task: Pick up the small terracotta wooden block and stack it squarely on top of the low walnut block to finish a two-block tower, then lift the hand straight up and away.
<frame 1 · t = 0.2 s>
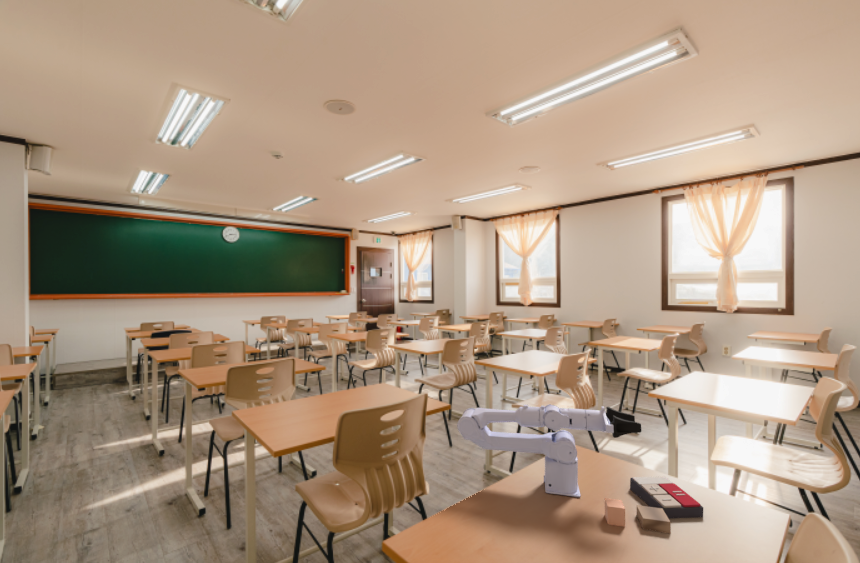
hand: (637, 423, 109), 21 cm above the table, tool horizontal, fingers open, 7 cm apart
calculator: (664, 504, 107), on the table
terracotta block: (614, 521, 98), on the table
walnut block: (653, 525, 97), on the table
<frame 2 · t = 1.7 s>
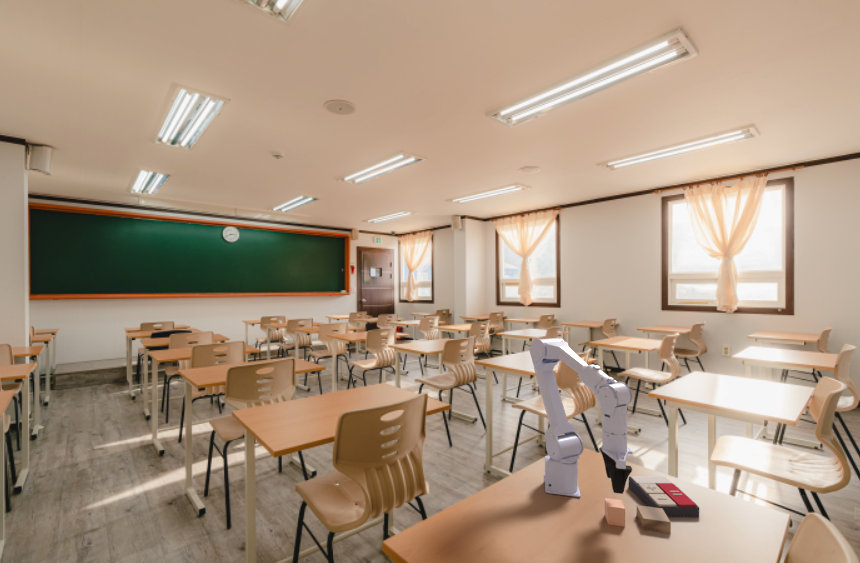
hand: (614, 484, 99), 9 cm above the table, tool pointing down, fingers open, 7 cm apart
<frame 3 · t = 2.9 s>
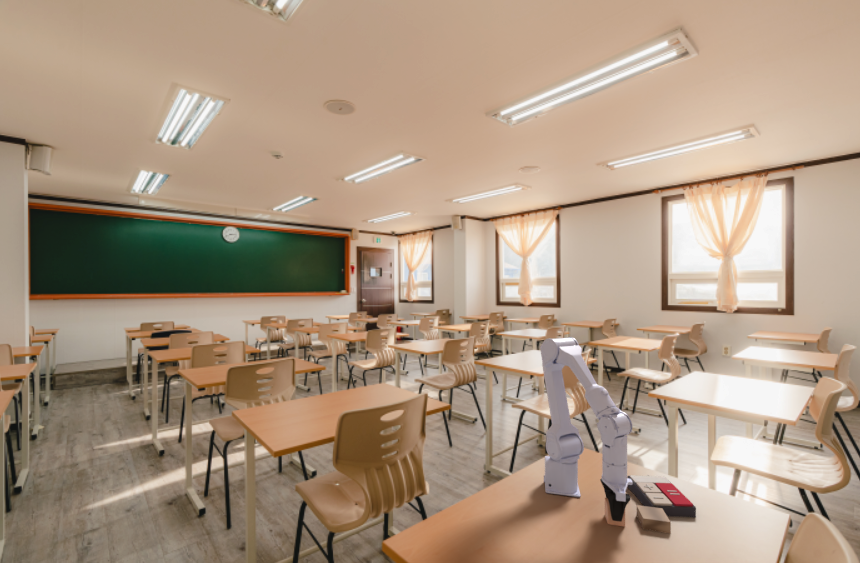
hand: (614, 515, 98), 1 cm above the table, tool pointing down, fingers closed on terracotta block, 4 cm apart
terracotta block: (614, 520, 98), on the table, touching gripper
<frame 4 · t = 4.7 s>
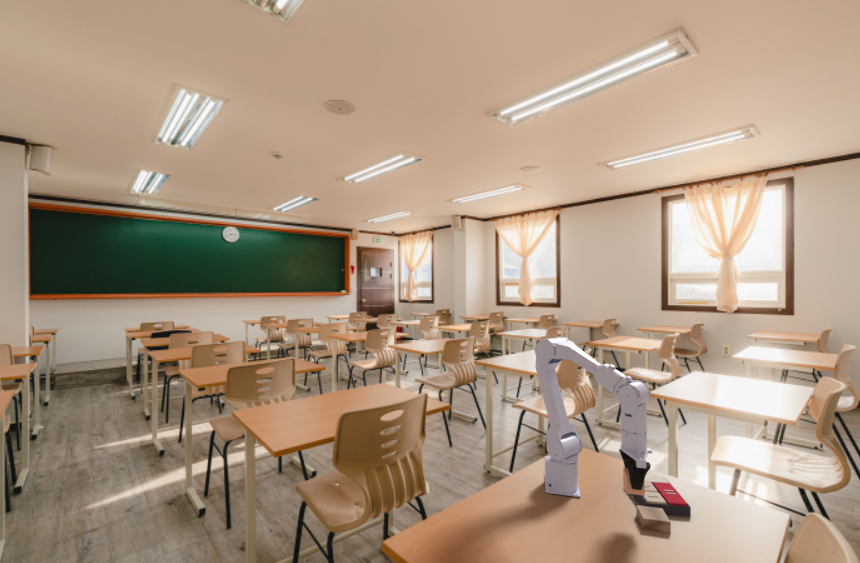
hand: (634, 484, 98), 10 cm above the table, tool pointing down, fingers closed on terracotta block, 4 cm apart
terracotta block: (633, 490, 98), point 8 cm above the table, touching gripper
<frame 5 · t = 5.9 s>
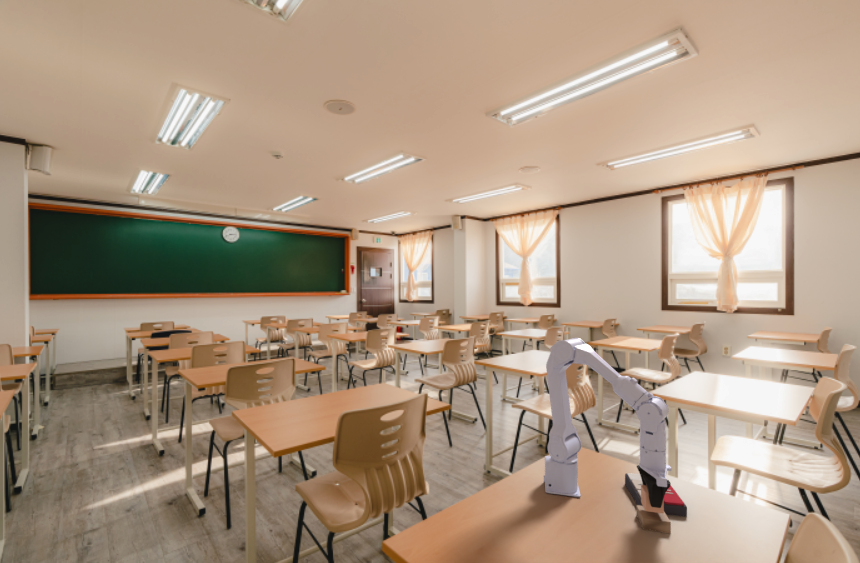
hand: (652, 501, 97), 6 cm above the table, tool pointing down, fingers closed on terracotta block, 4 cm apart
terracotta block: (652, 507, 97), point 4 cm above the table, touching gripper
when the fingers open (5 cm above the table, at t = 6.7 s): terracotta block drops 1 cm, resting on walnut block.
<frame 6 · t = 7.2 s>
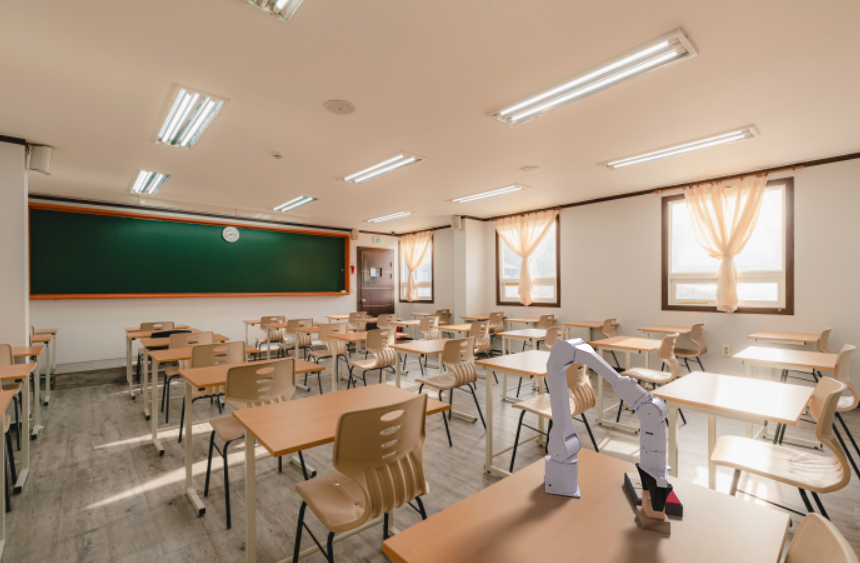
hand: (652, 502, 97), 5 cm above the table, tool pointing down, fingers open, 7 cm apart
terracotta block: (653, 513, 97), point 3 cm above the table, touching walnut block
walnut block: (652, 525, 97), on the table, touching terracotta block
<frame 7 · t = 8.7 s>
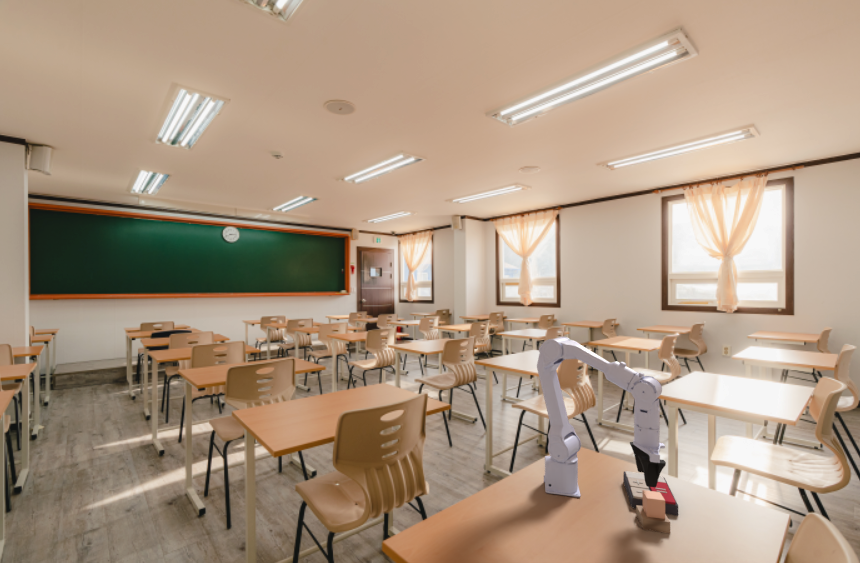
hand: (646, 478, 99), 10 cm above the table, tool pointing down, fingers open, 7 cm apart
terracotta block: (653, 513, 97), point 3 cm above the table
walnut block: (652, 525, 97), on the table
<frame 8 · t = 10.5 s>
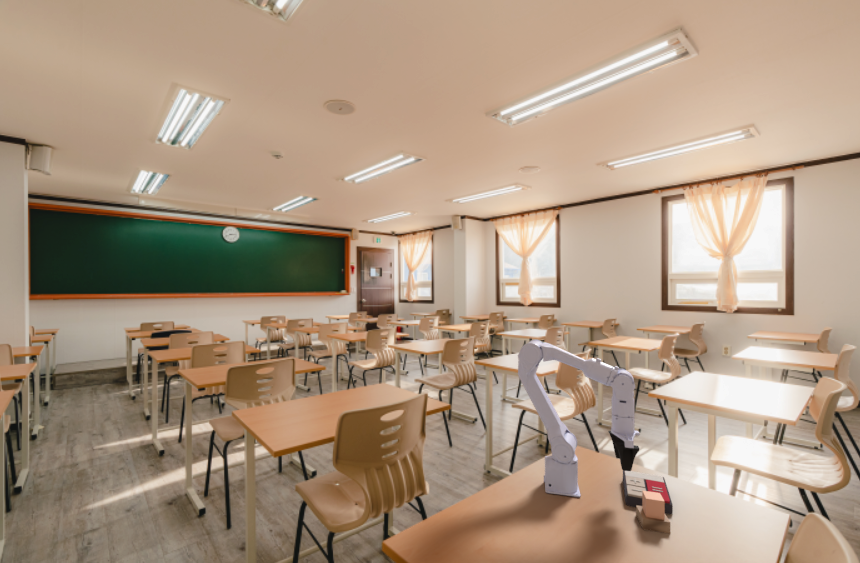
hand: (623, 464, 107), 10 cm above the table, tool pointing down, fingers open, 7 cm apart
terracotta block: (653, 513, 97), point 3 cm above the table, touching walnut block
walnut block: (652, 525, 97), on the table, touching terracotta block
at the end: terracotta block 0.2 cm off-centre on the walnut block, point 3.0 cm above the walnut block's base; terracotta block tilted 0°; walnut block moved 0.4 cm from its start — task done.
